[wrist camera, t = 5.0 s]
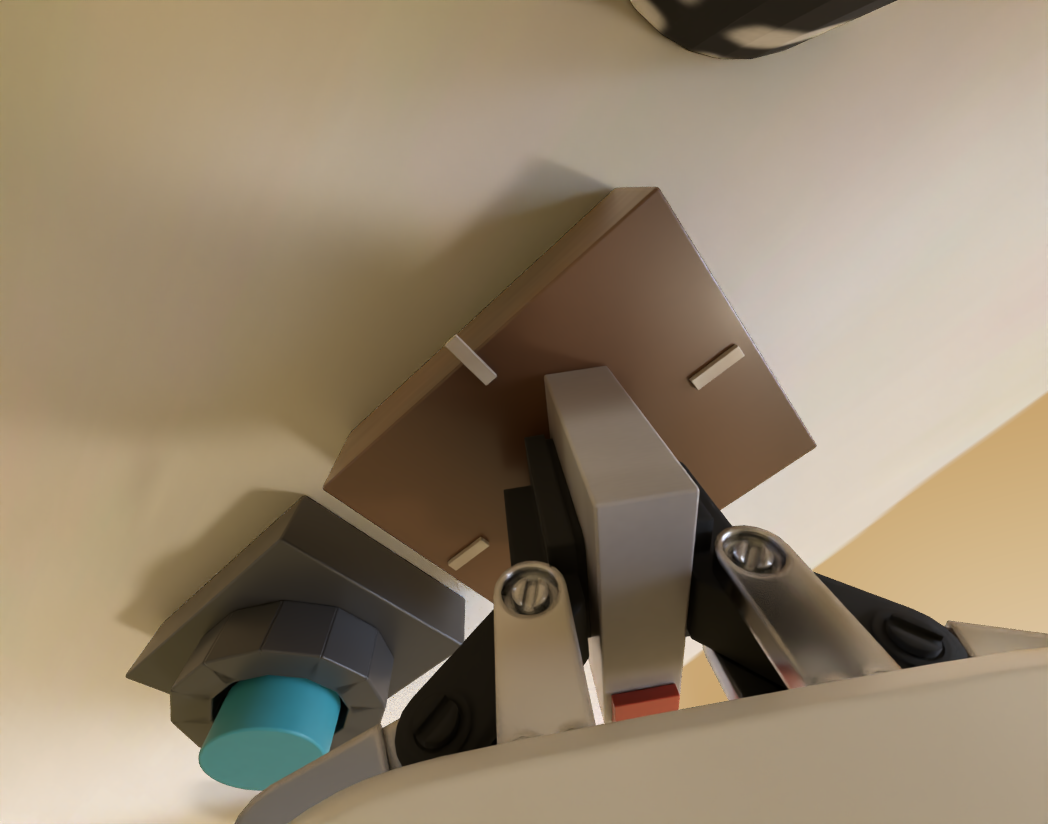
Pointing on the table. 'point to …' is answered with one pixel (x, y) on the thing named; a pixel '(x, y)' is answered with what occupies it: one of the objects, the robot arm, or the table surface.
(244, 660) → the control block
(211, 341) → the table surface
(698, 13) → the white-spotted black cylinder
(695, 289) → the block
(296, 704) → the button
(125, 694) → the table surface
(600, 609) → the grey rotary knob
